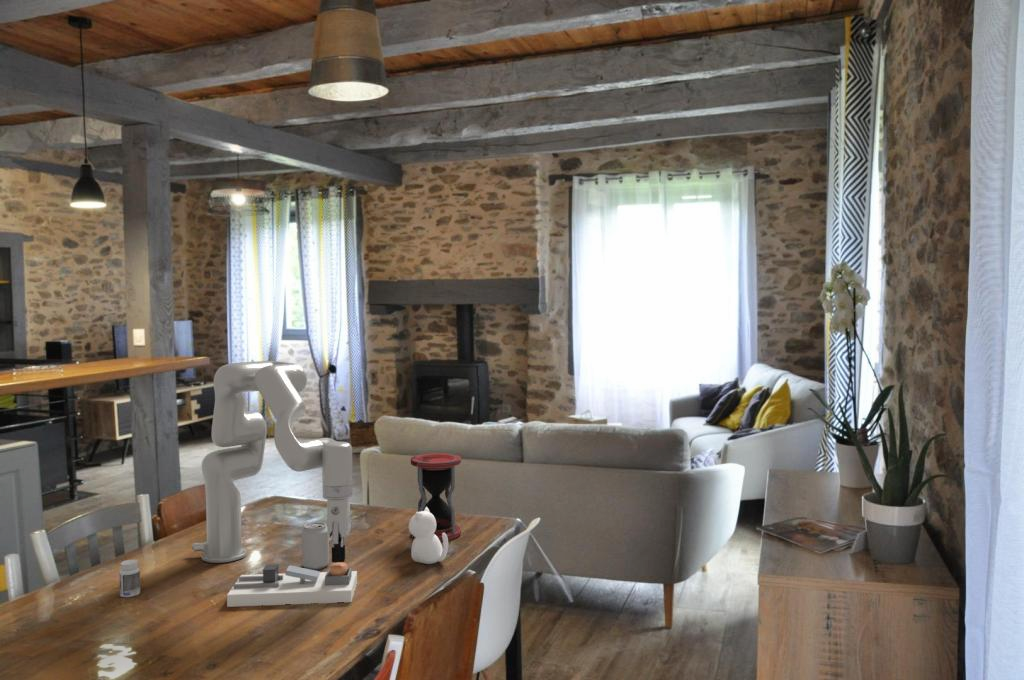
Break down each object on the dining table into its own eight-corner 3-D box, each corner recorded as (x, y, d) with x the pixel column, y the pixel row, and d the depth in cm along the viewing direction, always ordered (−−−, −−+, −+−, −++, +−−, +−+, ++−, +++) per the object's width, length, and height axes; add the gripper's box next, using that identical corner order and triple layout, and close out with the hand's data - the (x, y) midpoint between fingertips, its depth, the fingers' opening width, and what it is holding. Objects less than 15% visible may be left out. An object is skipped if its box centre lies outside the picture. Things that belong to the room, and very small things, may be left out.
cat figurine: (417, 554, 229) (416, 504, 228) (455, 558, 224) (454, 507, 223) (402, 564, 220) (401, 512, 220) (442, 568, 216) (441, 515, 215)
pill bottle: (144, 592, 198) (143, 560, 198) (130, 598, 194) (129, 565, 193) (130, 589, 200) (129, 558, 199) (115, 596, 195) (114, 563, 195)
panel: (227, 606, 188) (226, 586, 188) (241, 586, 202) (241, 566, 202) (351, 602, 191) (351, 581, 191) (357, 582, 205) (356, 562, 205)
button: (328, 577, 195) (328, 568, 195) (330, 571, 200) (330, 562, 200) (346, 577, 196) (346, 567, 196) (348, 571, 200) (348, 562, 200)
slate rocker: (285, 575, 194) (286, 570, 194) (288, 569, 198) (289, 565, 198) (316, 581, 195) (317, 577, 195) (318, 576, 199) (319, 571, 199)
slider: (263, 585, 194) (263, 569, 194) (266, 579, 198) (266, 564, 198) (275, 585, 194) (275, 569, 194) (278, 579, 198) (278, 564, 198)
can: (322, 571, 214) (321, 528, 213) (297, 569, 215) (296, 527, 215) (333, 562, 221) (333, 521, 220) (309, 560, 222) (309, 519, 222)
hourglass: (434, 524, 259) (433, 451, 258) (471, 532, 250) (471, 456, 249) (400, 536, 246) (399, 458, 245) (438, 545, 237) (438, 464, 236)
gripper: (349, 497, 190) (350, 570, 191) (355, 483, 205) (356, 551, 205) (318, 498, 189) (319, 571, 190) (326, 484, 204) (327, 552, 205)
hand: (338, 561), depth 198 cm, fingers closed
